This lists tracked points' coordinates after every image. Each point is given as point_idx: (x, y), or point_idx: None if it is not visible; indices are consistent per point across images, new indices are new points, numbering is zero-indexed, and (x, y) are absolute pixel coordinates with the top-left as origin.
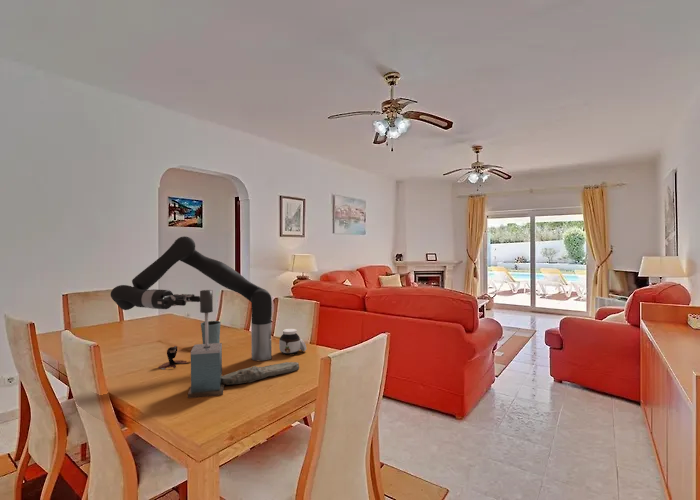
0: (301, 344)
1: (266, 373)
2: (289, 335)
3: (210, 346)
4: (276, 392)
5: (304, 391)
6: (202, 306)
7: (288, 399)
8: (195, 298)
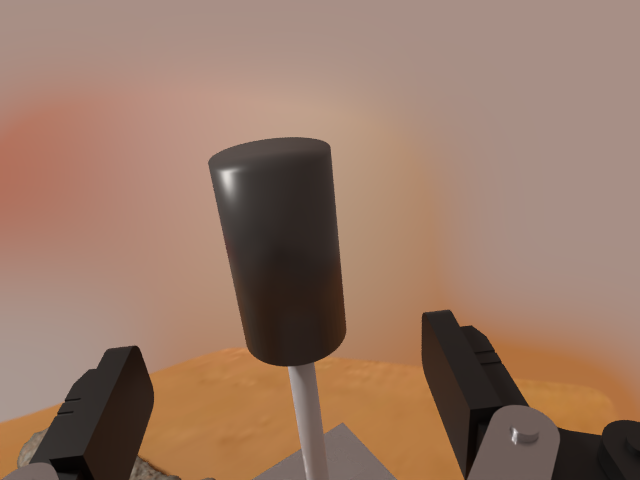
0: None
1: (160, 472)
2: None
3: None
4: (276, 400)
5: None
6: (341, 281)
7: None
8: (122, 414)
